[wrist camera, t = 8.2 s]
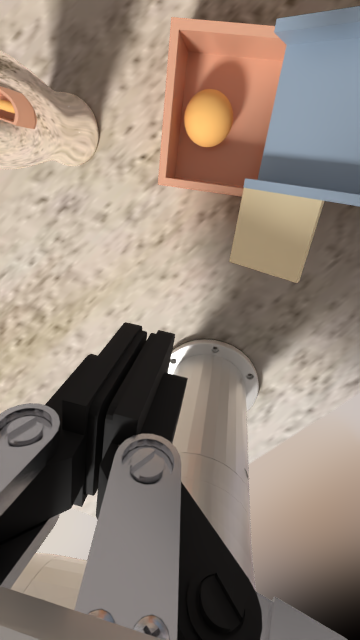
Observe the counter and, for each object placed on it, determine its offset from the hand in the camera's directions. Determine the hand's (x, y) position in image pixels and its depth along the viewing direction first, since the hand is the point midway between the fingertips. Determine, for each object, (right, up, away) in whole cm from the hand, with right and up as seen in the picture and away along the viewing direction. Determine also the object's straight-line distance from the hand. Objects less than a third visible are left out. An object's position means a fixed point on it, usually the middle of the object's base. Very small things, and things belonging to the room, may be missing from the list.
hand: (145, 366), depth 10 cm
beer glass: (-10, +20, +20) cm, 30 cm away
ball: (+4, +18, +15) cm, 24 cm away
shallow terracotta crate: (+6, +19, +17) cm, 26 cm away
